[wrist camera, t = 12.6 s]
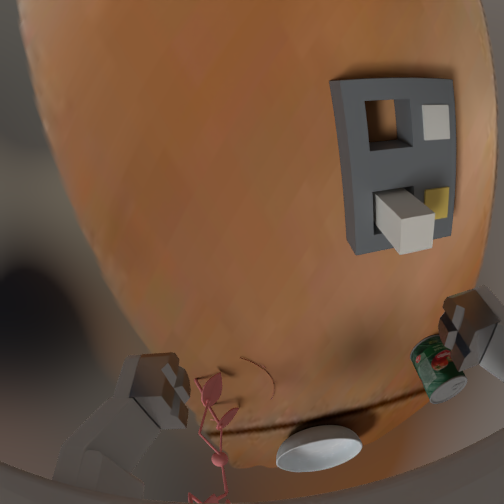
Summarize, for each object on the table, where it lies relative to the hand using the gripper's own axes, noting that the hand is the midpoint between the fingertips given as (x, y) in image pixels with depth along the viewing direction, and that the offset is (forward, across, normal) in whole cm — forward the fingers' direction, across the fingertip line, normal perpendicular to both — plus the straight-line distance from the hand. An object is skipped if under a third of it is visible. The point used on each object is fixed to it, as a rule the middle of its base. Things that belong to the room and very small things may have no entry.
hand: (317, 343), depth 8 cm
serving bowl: (+28, -1, +68) cm, 74 cm away
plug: (+29, -14, +9) cm, 33 cm away
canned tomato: (+28, -25, +42) cm, 57 cm away
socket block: (+29, -16, +4) cm, 33 cm away
